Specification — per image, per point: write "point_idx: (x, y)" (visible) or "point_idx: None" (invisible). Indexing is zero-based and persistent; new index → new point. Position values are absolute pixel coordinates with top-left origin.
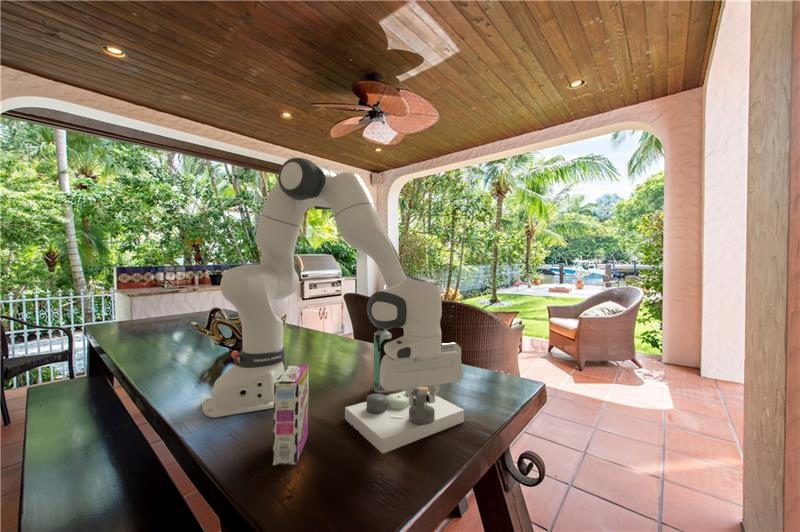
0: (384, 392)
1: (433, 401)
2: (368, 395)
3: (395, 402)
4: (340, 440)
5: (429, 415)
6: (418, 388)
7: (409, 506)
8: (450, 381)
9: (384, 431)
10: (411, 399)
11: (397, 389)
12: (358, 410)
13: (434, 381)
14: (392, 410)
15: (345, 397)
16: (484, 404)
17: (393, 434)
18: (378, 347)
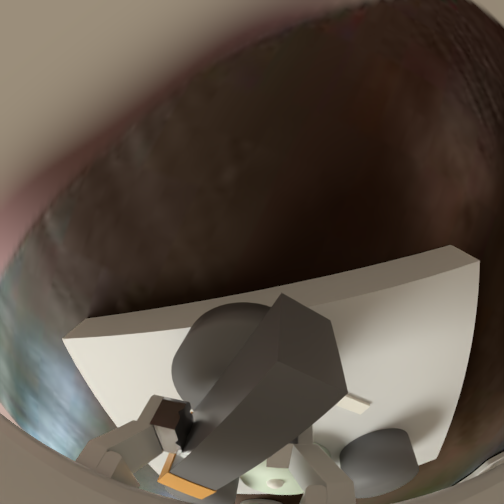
0: (264, 500)
1: (159, 400)
2: (392, 490)
3: None
4: (492, 349)
5: (223, 326)
6: None
7: (435, 6)
8: (9, 428)
9: (447, 316)
10: (313, 444)
11: (457, 487)
12: (422, 447)
13: (97, 498)
14: (328, 439)
15: None
16: (31, 358)
17: (433, 282)
18: None
